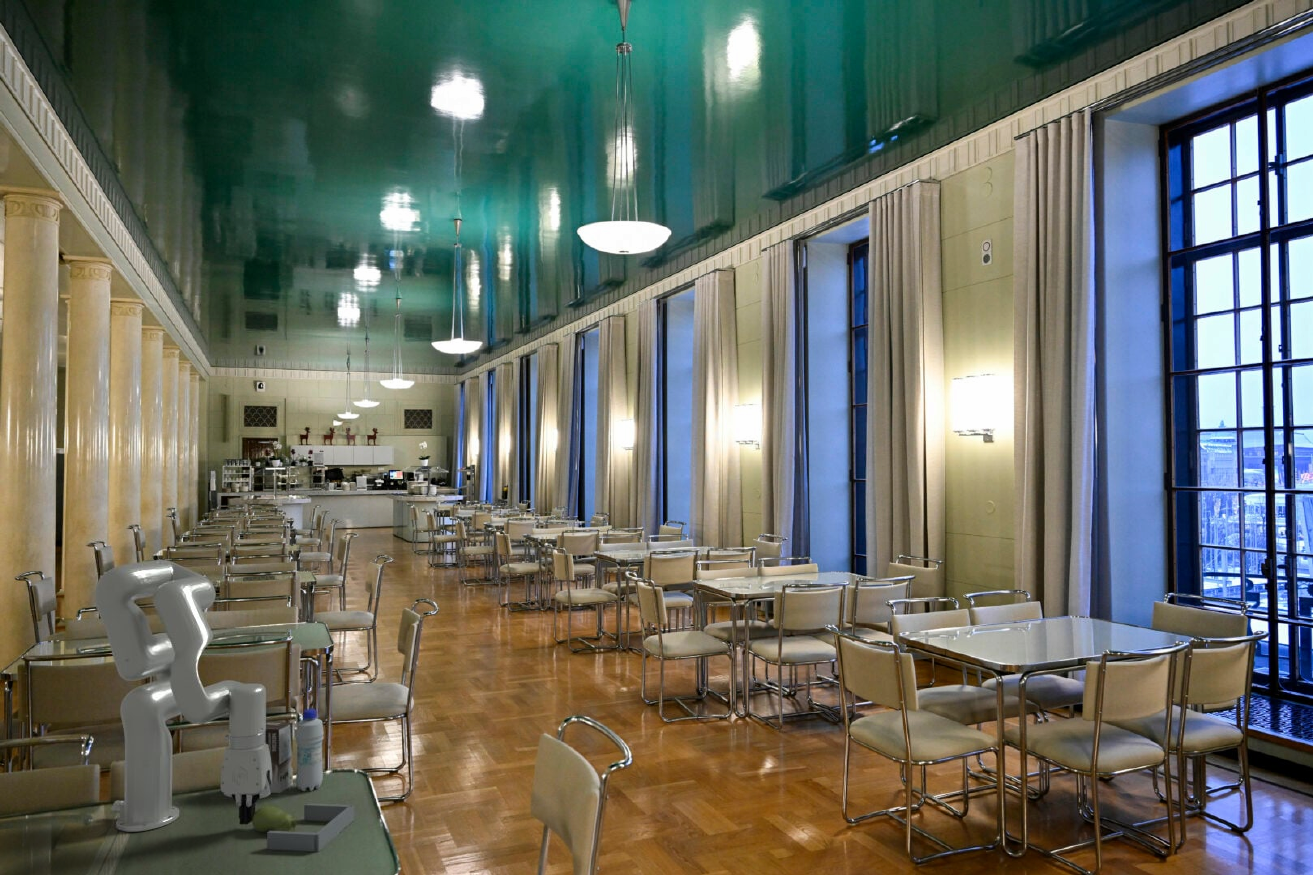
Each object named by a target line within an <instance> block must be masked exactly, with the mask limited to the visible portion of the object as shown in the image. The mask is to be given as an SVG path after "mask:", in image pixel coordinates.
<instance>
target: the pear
mask: <svg viewBox="0 0 1313 875" xmlns="http://www.w3.org/2000/svg"><path fill="white" fill-rule="evenodd" d="M251 822H252V827H253V828H254V829H255V830H256V831H258V832H261V833H264V832H269V831H288V832H294V830H295V829H296V826H297V824H298V823H297V819H296V818H294V816H293V815H292V814H290V813H288V812H287V813H286V812H284V810H282V809H281V808H279V807H276V806H273V805H264V806H260V807H259V808H257V810H255V814H254V816H253V819H252V821H251Z"/></svg>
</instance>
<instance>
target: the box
mask: <svg viewBox="0 0 1313 875" xmlns="http://www.w3.org/2000/svg"><path fill="white" fill-rule="evenodd" d="M303 807H304V808H303V815H304V816H303V821H313V822H314V821H315V822H327V824H326V825H325V826H323V827H322V828H321V829H320V830H318V831H317V832H309V831H308V832H307V831H292V832H288V831H275V830H269V831H266V834H267V835H266V850H278V851H296V852H297V851H298V852H317V853H318V852H319V853H320V851H322V850H323V848H325V847H326V846H327V845H329V843H330V842H332V841H333V840H334V839H335V838H336V837H337V836H338V835H339V834H341V833H342V832H343V831H344V830H345V829H346V828H347V827H349V826H350V825H351V824H352V823H353V822H354V821H355V804H334V803H333V804H332V803H331V804H329V803H309V802H307V803H305V804H304V805H303ZM353 820H354V821H353ZM352 821H353V822H352ZM351 822H352V823H351ZM350 823H351V824H350ZM349 824H350V825H349ZM348 825H349V826H348ZM346 826H347V827H346ZM345 827H346V828H345ZM344 828H345V829H344ZM343 829H344V830H343ZM342 830H343V831H342ZM341 831H342V832H341ZM340 832H341V833H340Z"/></svg>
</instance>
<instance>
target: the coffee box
mask: <svg viewBox="0 0 1313 875" xmlns="http://www.w3.org/2000/svg"><path fill="white" fill-rule="evenodd" d="M293 728H294V727H293V722H288V721H287V722H286V721H285V722H284V721H266V744H268V746H269V751H270V756H271V765H272V784H271V786H270V791H271V793H272V794H280V793H282V792H284V791H285V790H287V789H288V788H290V787H292V786H293V785H294V777H293V776H294V771H293V770H294V762H293V760H294V759H293V758H294V757H293V756H294V755H293V754H294V753H293V751H294V750H293V746H294V744H293V738H294V737H293V734H294V733H293Z"/></svg>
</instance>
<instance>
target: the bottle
mask: <svg viewBox="0 0 1313 875" xmlns="http://www.w3.org/2000/svg"><path fill="white" fill-rule="evenodd" d="M317 717H318V713H317V710H316V708H315V709H314V708H307V709H305V710H304V711H303V712H302V720H301V721H298V722H297V725H296V733H295V742H296V744H297V746H296V747H297V748H296V751H297V752H296V756H297V757H296V760H297V761H296V764H297V765H296V778H295V782H296V787H297V789H298V790H299V791H302V792H306V791H307V788H309V791H310V792H313V791H314V789H315V790H318V789H319V788H320V787H321V785H322V783H323V778H324V774H323V773H324V772H323V740H324V738H325V737H324V734H325V731H324V726H323V721H322V720H321V719H319V718H317Z"/></svg>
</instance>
